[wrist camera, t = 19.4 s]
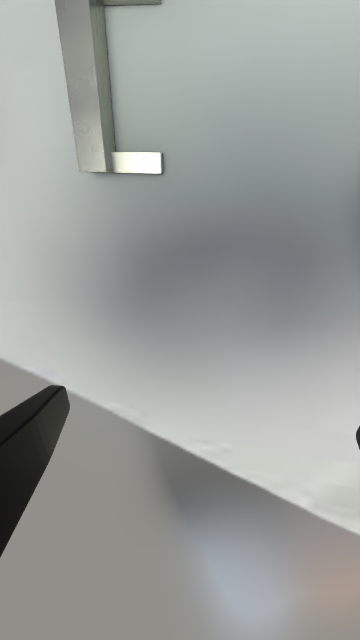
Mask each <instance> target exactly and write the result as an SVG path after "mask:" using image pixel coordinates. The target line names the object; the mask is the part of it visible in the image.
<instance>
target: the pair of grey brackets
mask: <svg viewBox="0 0 360 640" xmlns="http://www.w3.org/2000/svg"><path fill="white" fill-rule="evenodd" d="M140 4H161V0H55V6H56V13H57V20H58V27H59V34H60V41H61V48H62V55H63V61H64V68H65V75H66V82H67V89H68V96H69V103H70V110H71V117H72V124H73V131H74V138H75V145H76V152H77V159H78V166H79V171H83V172H103V173H153V174H163V154H162V153H145V152H116V150H115V138H114V126H113V114H112V102H111V90H110V78H109V66H108V54H107V42H106V30H105V18H104V6H108V5H140Z"/></svg>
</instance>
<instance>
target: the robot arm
mask: <svg viewBox="0 0 360 640" xmlns="http://www.w3.org/2000/svg"><path fill="white" fill-rule="evenodd" d="M69 409H70V404H69V400H68V396H67V392H66V388H65V387H64V386H59V385H50V386H48V387H47V388H45V389H43V390H42V391H40V392H38V393H37V394H35V395H34V396H32V397H30V398H29V399H27V400H25V401H24V402H22V403H20V404H19V405H17V406H16V407H14V408H12V409H11V410H9V411H8V412H6V413H4V414H2V415H1V416H0V557H1V555H2V553H3V551H4V549H5V547H6V545H7V543H8V541H9V539H10V537H11V535H12V533H13V531H14V530H15V527H16V526H17V524H18V522H19V520H20V518H21V516H22V514H23V512H24V510H25V508H26V506H27V504H28V502H29V500H30V498H31V496H32V494H33V492H34V490H35V488H36V487H37V484H38V482H39V481H40V479H41V477H42V475H43V473H44V471H45V469H46V467H47V465H48V463H49V461H50V458H51V456H52V454H53V451H54V448H55V446H56V444H57V441H58V438H59V436H60V433H61V431H62V428H63V426H64V423H65V421H66V418H67V416H68V413H69ZM356 440H357V443H358V446H359V449H360V426H359V428H358V430H357V432H356Z"/></svg>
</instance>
